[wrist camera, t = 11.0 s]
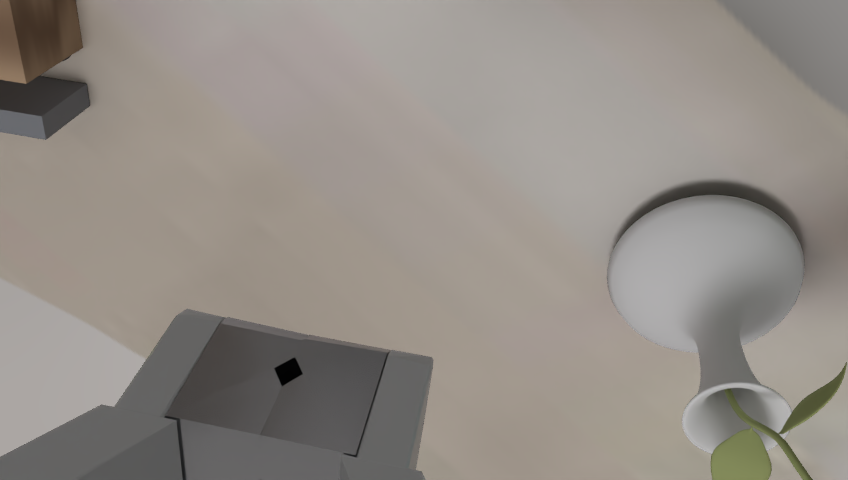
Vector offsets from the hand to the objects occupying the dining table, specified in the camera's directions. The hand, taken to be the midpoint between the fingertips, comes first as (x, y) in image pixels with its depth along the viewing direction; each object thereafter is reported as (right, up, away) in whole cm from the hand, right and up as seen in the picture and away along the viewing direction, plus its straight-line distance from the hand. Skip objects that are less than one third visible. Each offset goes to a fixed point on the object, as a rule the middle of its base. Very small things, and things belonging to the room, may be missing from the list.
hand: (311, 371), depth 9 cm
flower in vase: (+19, +1, +39) cm, 44 cm away
